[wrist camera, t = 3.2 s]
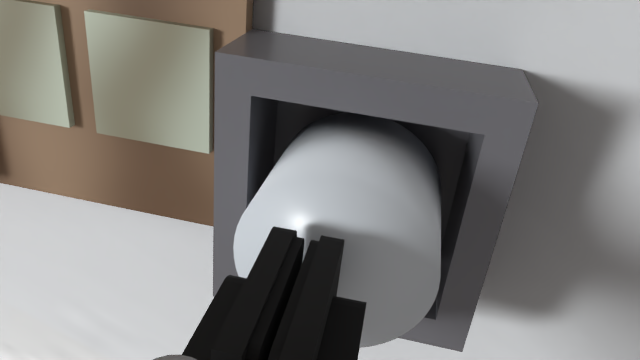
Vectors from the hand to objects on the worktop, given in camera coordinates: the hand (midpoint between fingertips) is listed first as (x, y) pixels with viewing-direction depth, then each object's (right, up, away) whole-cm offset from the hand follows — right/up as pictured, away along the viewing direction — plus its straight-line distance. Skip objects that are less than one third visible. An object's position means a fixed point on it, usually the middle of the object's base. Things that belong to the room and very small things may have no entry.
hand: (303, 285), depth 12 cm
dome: (+1, +2, +4) cm, 5 cm away
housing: (+2, +3, +5) cm, 6 cm away
